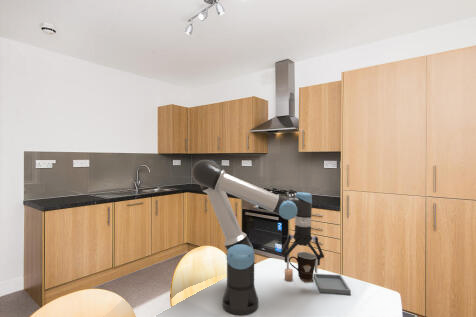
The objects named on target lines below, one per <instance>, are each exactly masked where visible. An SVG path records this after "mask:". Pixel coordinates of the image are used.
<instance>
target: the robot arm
mask: <svg viewBox="0 0 476 317" xmlns="http://www.w3.org/2000/svg"><path fill="white" fill-rule="evenodd" d="M191 177H192V179H193V180H194V182H195V183H196V184H198V185H200V189H201V191H202V192H203V193H205V194H207V195H206V196H207V197H208V199H209V203H210V204H211V207H212V210H213V212H214V214H215V216H216V218H217V221H218V223H219V226H220V228H221V232H222V234H223V237H224V239H225V241H224V243H223V245H224V247H225V250H226V286H225V291H224V294H223V297H222V307H223V310H224V311H226V312H227V313H229V314H231V315H235V316H247V315H250V314H253V313H254V312H256V311H257V310H258V308H259V297H258V294H257V291H256V288H255V258H256V256H255V251H254V247H253V244H252V242H251V241H250V240H249V237H248V235H247V233H245V232H243V230H242V228H241V226H240V224H239V221H238V219H237V217H236V214H235V211H234V209H233V207H232V204H231V201H230V200H229V196H228V194H229V195H232V196H234V197H235V198H238V199H241V200H244V201H246V202H248V203H251V204H253V205H256V206H258V207H260V208H262V209H265V210H267V211H269V212H272V213H273V214H275V215H278V216H280V217H281V218H283V219H284V220H292V219H294V224H295V225H294V235H292V234H290V233H288V234H287V238H286V241H285V242H284V245H283V246H282V248H281V250H280V253H281V255H283V256H284V262H285V263H286V268H287V271H289V268H290V266H289V265H290V263H289V258H290V253H292V251H293V250H294V249H295V248H296V247H297V246H305V247H306V246H308V247H309V249H310V250H311V251H312V252H313V253H312V254H314V255H315V256H316V261H315V266H314V274H318V266H320V265H321V259H324V258H325V255H324V253H323V250H322V247H321V246H320V243H319V237H318V236H317V235H314V236H312V227H311V226H312V207H313V206H312V205H313V199H312V198H313V196H312V193H309V192H302V191H301V192H300V191H298V192H296V193H295V195H294V196H285V195H278V194H276V193H273V192H271V191H269V190H266V189H265V188H261V187H259V186H258V185H257V186H256V185H255V184H252V183H249V182H247V181H246V180H242V179H241V178H238V177H236V176H233V175H231V174H228V173H227V172H226V171H225V169H223V168H221V167H220V165H219V164H218V162H216V161H214V160H212V159H202V160H198V161H197V162H195V164H194V165H193V167H192V168H191ZM293 239H294V241H293V242H292V244H291V245H290V242H291V240H293ZM311 241H313V242H314V243H315V246H316V248H317V250H318V252H319V253H318V252H317V251H316V249H315V248H314V246H313V245H312V244H311ZM289 245H290V246H289ZM288 246H289V247H288Z"/></svg>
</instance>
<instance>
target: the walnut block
mask: <svg viewBox="0 0 476 317" xmlns="http://www.w3.org/2000/svg"><path fill="white" fill-rule="evenodd" d="M299 280H301V281H302V282H303V283H304V284H305V283H311V282H312V283H313V282H314V277H313V278H312V279H311V280H304V279H301V278H300V277H299Z"/></svg>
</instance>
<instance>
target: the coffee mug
mask: <svg viewBox="0 0 476 317" xmlns="http://www.w3.org/2000/svg"><path fill="white" fill-rule="evenodd" d="M291 259H295V261H296V262H297V267H296V266H295V265H293V264H292V263H291ZM315 261H316V255H315V254H314V253H312V252H311V253H310V252H306V251H299V252H297V254H296V257H295V256H291V257H290V256H289V265H290V266H291V267H293V268H294V269H296V271H297V274H298V275H297V276H298V278H299V279H300V278H301V279H304V280H311V279H312V278H313V279H314V273H315ZM301 279H300V280H301Z"/></svg>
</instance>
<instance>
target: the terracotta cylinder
mask: <svg viewBox="0 0 476 317" xmlns="http://www.w3.org/2000/svg"><path fill="white" fill-rule="evenodd" d="M293 271H294V270H293V269H292V268H290V267H289V271H287V267H286V268H285V269H284V281H286V282H293V281H294V279H293V274H294V272H293Z"/></svg>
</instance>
